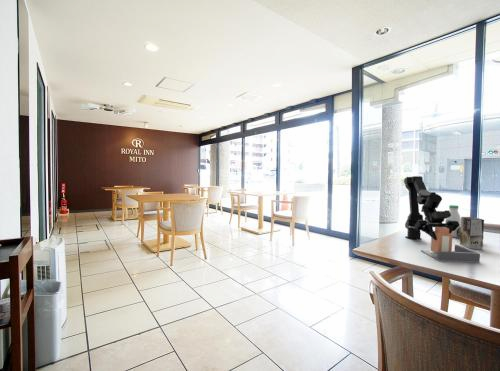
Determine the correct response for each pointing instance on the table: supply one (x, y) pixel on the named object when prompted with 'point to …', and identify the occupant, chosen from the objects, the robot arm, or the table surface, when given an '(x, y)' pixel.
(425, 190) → the robot arm
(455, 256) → the tray
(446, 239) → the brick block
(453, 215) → the milk bottle
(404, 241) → the table surface
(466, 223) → the coffee box
